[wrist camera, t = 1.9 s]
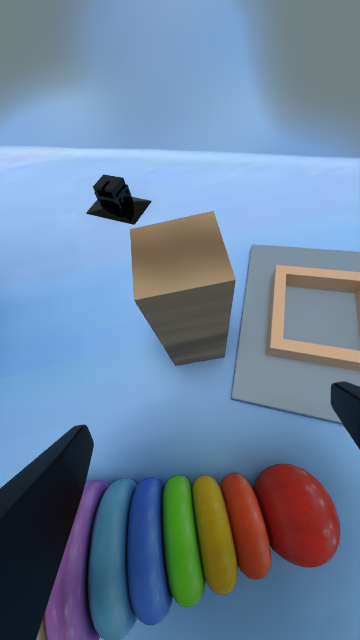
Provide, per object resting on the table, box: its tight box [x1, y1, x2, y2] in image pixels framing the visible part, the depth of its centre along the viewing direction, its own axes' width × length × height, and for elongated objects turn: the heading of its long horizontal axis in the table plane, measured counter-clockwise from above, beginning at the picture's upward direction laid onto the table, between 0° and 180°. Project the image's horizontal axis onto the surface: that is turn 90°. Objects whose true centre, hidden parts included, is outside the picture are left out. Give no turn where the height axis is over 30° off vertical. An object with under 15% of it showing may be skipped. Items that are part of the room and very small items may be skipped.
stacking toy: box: [36, 464, 340, 640], centre depth 14 cm, size 8×8×19 cm
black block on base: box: [86, 175, 151, 225], centre depth 33 cm, size 12×7×5 cm, turn 65°
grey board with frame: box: [231, 245, 360, 424], centre depth 21 cm, size 18×14×3 cm
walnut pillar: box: [130, 211, 235, 366], centre depth 17 cm, size 5×5×13 cm
